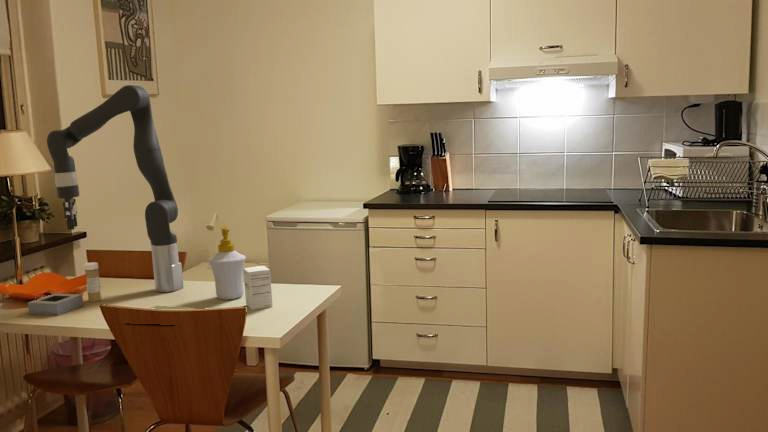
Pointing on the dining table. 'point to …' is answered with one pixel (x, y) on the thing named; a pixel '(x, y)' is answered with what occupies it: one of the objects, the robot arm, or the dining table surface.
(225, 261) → the soap bottle
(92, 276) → the sprinkles bottle
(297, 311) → the dining table surface
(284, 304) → the dining table surface
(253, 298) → the supplement box
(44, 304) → the shallow gray tray
